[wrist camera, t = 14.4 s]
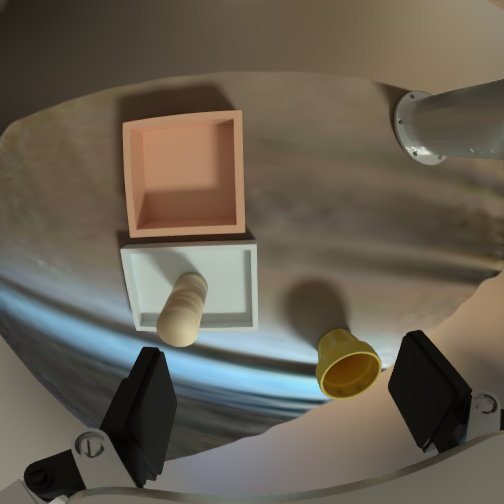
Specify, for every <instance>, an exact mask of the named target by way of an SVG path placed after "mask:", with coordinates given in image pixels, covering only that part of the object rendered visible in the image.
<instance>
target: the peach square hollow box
mask: <svg viewBox="0 0 504 504" xmlns="http://www.w3.org/2000/svg"><path fill="white" fill-rule="evenodd" d="M123 156H124V176H125V191H126V202H127V213H128V222H129V231H130V238H133V237H153V236H174V235H198V234H224V233H245V208H244V172H243V134H242V110H235V111H215V112H201V113H190V114H180V115H171V116H163V117H156V118H149V119H142V120H136V121H131V122H125V123H123Z"/></svg>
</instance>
